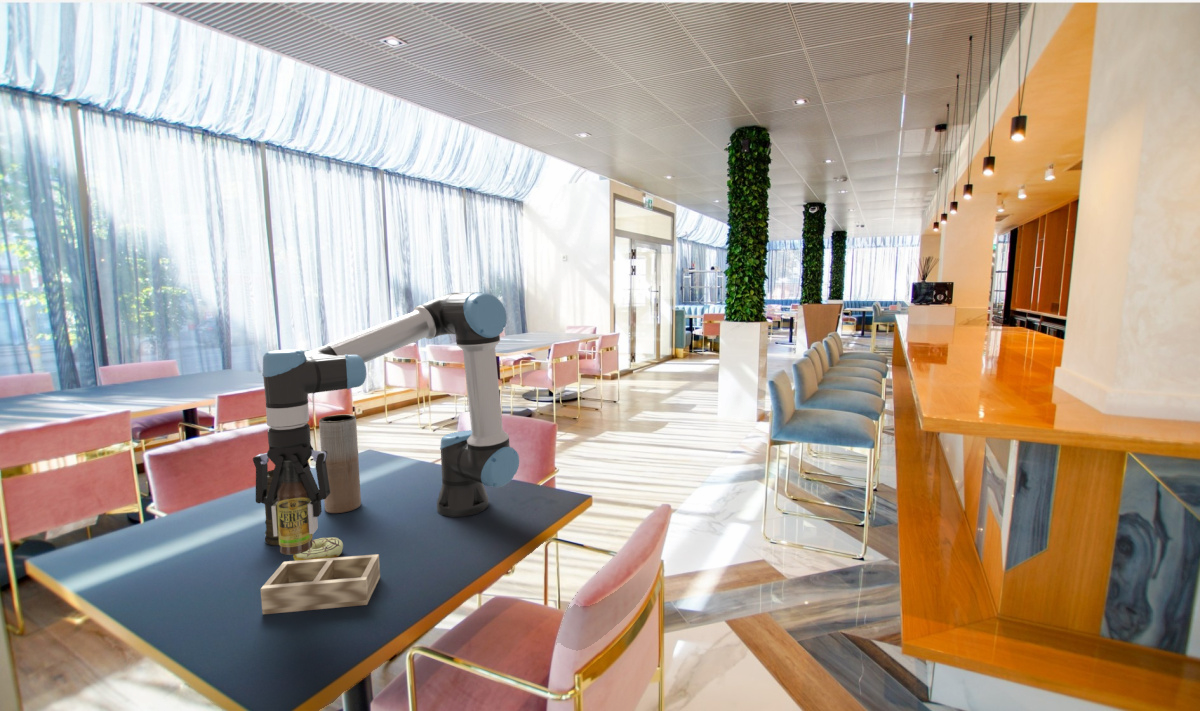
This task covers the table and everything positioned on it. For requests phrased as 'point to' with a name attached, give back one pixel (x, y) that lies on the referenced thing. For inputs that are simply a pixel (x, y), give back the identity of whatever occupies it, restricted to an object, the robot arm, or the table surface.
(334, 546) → the decorated donut
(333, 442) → the vase
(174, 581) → the table surface
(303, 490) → the sauce bottle
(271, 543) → the container
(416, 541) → the table surface
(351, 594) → the caddy
